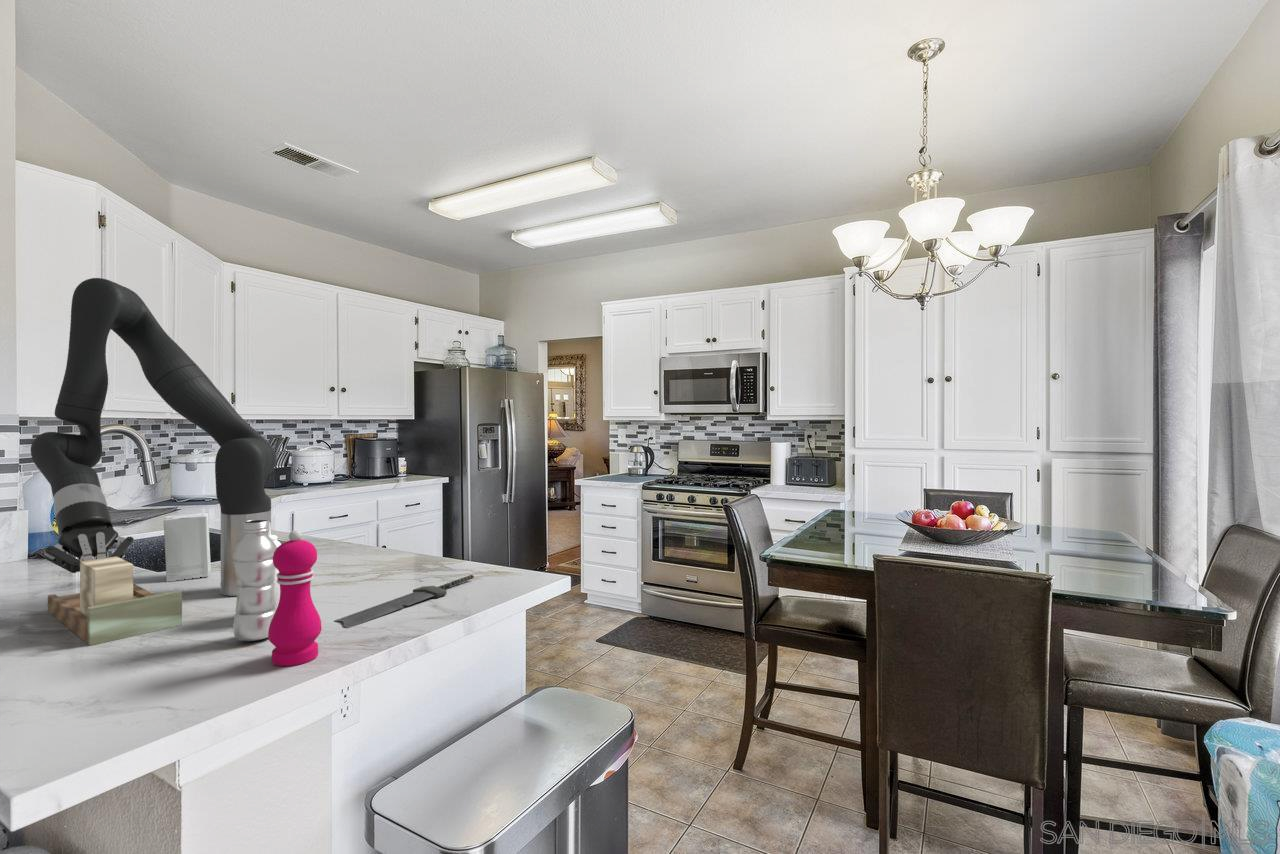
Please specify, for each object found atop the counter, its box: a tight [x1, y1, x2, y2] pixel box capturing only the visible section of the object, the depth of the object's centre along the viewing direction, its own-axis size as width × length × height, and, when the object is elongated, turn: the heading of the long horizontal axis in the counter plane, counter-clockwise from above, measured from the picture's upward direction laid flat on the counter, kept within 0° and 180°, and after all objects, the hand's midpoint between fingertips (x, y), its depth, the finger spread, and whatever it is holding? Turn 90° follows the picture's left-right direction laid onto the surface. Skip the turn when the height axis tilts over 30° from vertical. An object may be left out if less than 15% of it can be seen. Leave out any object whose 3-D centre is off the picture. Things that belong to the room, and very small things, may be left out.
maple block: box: [79, 556, 134, 618], centre depth 105 cm, size 10×5×10 cm, turn 54°
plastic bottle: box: [232, 520, 277, 642], centre depth 101 cm, size 6×7×20 cm
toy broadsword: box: [334, 574, 475, 629], centre depth 124 cm, size 7×35×2 cm, turn 153°
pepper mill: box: [267, 529, 323, 667], centre depth 93 cm, size 7×7×20 cm
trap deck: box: [47, 582, 183, 646], centre depth 112 cm, size 30×12×6 cm, turn 54°
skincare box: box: [163, 512, 212, 583], centre depth 141 cm, size 8×6×15 cm
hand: (99, 585), depth 109 cm, fingers closed
